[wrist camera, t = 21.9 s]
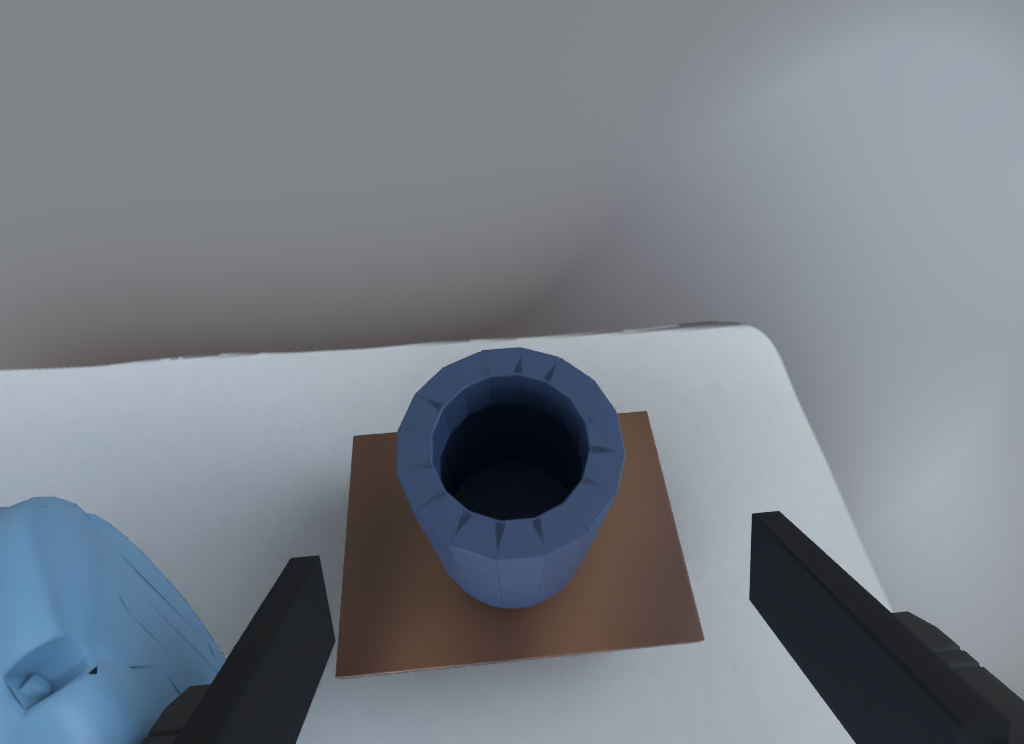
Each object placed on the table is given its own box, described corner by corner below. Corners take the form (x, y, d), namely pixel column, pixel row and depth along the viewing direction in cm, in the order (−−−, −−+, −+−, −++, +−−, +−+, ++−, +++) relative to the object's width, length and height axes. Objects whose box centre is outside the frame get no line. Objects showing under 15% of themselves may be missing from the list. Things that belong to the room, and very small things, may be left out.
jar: (439, 616, 25) (393, 570, 15) (437, 465, 29) (399, 356, 19) (598, 600, 25) (647, 546, 16) (573, 453, 29) (601, 340, 20)
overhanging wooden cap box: (367, 680, 29) (334, 678, 23) (377, 473, 35) (353, 435, 30) (672, 649, 29) (705, 640, 24) (628, 450, 36) (647, 410, 30)
